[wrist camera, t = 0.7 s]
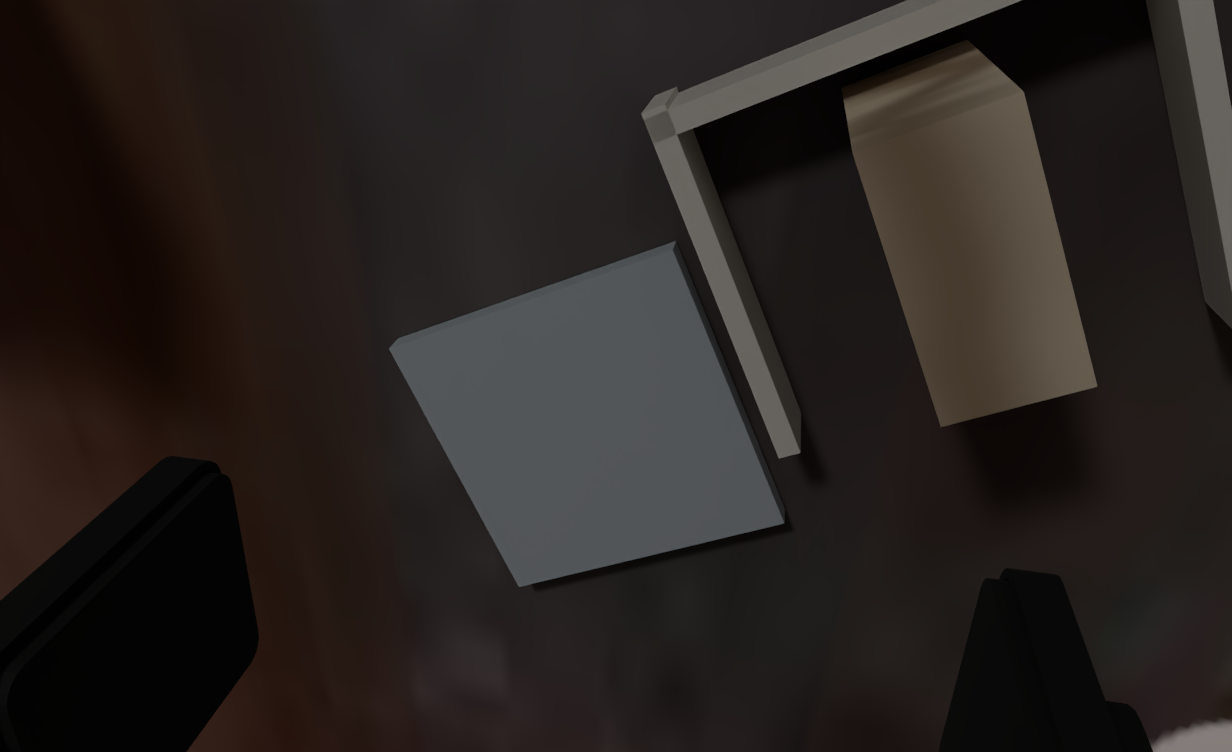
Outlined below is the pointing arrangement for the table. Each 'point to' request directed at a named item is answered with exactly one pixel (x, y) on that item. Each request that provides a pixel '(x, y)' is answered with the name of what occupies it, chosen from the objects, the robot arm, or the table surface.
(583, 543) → the mat
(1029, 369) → the block
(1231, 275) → the frame
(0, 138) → the table surface
